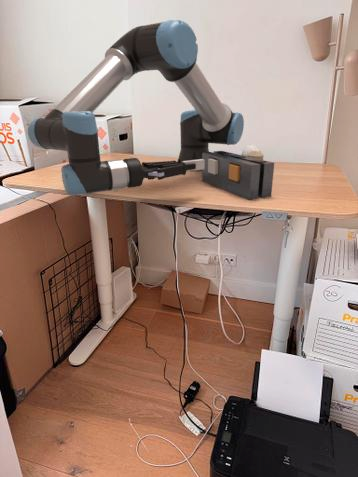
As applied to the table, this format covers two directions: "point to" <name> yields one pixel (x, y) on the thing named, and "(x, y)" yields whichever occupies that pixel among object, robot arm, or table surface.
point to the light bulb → (249, 149)
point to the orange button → (234, 172)
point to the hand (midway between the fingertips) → (203, 164)
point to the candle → (256, 155)
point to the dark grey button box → (251, 175)
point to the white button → (213, 165)
